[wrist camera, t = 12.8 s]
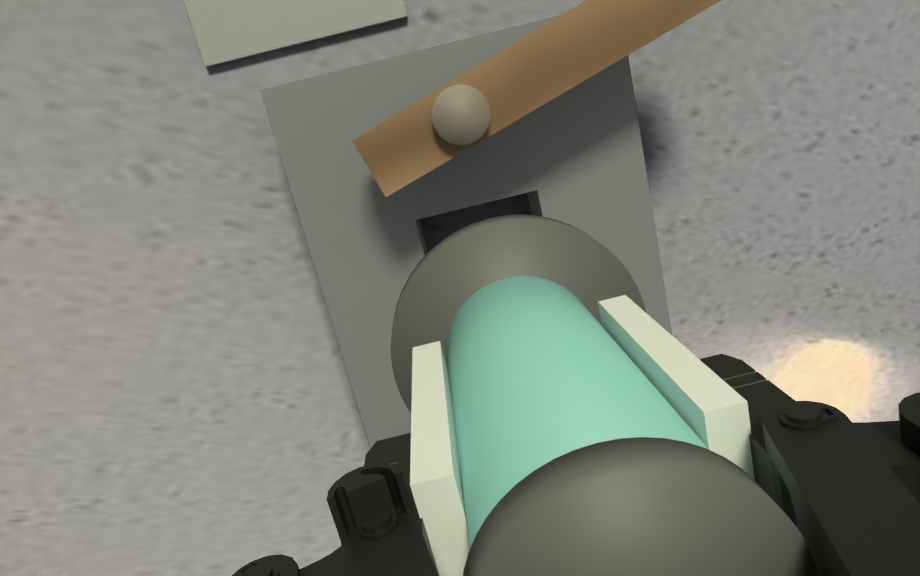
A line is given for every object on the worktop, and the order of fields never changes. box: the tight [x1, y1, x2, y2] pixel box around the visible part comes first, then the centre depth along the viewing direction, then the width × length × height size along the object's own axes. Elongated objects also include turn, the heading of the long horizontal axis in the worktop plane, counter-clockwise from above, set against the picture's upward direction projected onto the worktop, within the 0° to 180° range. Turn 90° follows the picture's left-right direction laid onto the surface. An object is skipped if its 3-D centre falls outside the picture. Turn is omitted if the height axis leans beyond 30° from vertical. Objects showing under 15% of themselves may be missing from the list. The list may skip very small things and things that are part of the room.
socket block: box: [260, 16, 672, 448], centre depth 32 cm, size 16×20×4 cm
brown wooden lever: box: [352, 0, 721, 197], centre depth 26 cm, size 2×16×4 cm, turn 120°
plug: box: [390, 214, 818, 576], centre depth 16 cm, size 8×8×16 cm
